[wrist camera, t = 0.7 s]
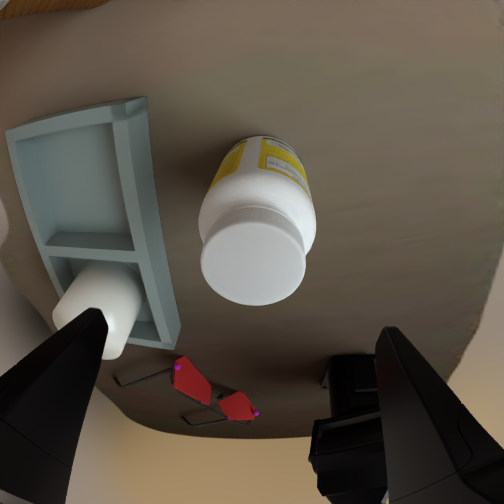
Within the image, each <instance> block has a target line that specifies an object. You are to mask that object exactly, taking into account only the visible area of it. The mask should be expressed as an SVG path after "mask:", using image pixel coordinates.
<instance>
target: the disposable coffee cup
mask: <svg viewBox="0 0 504 504" xmlns="http://www.w3.org/2000/svg"><path fill="white" fill-rule="evenodd" d="M108 1H110V0H0V20H3V19H9V18H11V17H13V18H14V17H18V16H24V15H27V14H29V15H30V14H34V13H35V14H36V13H41V12H48V11H50V12H51V11H55V10H56V11H59V10H67V9H68V10H70V9H88V8H94V7H97V6H100V5H102V4H104V3H106V2H108Z"/></svg>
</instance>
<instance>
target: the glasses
mask: <svg viewBox="0 0 504 504" xmlns="http://www.w3.org/2000/svg"><path fill="white" fill-rule="evenodd" d="M173 370H174V381H173ZM170 371H171V382H172V385H173V387H174V388H175V389H176V390H177V391H178V392H179V393H181V394H182V395H183V396H185V397H187V398H188V399H190V400H192V401H194V402H195V403H197V404H199V405H201V406H203V407H205V408H207V409H208V410H210V411H212V412H214V413H216V414H218V415H220V416H222V417H224V418H226V419H222V420H217V421H212V422H207V423H202V424H197V425H192V424H190V423H189V422H188V421H187V420H186V419H185V418H181V419H182V420H183V421H184V422H185V423H187V424H188V425H189V426H191V427H199V426H205V425H210V424H215V423H220V422H225V421H232V422H234V423H237V424H239V425H244V426H245V425H248V424H249V423H250V422H251V419H254V415H258V414H259V412H258V411H257V410H255V411H254V407H253V405H252V404H251V402H250V401H249V400H248V398H247V397H246V395H245V394H243V393H241V392H240V391H238V392H236V393H234V394H233V395H231V396H229V397H227V398H225V399H223V400H221V401H219V402H218V404H219V405H220V407H221V409H222V410H223V412H224V414H225V415H226V416H224V415H222V414H220V413H218V412H216V411H214V410H212V409H210V408H208V407H207V406H205V405H203V403H205V404H207V405H210V396H211V385H210V384H209V383H208V381H207V380H206V379H205V378H204V377H203V376H202V375H201V373H200V372H199V371H198V370H197V369H196V368H195V367H194V365H193V364H192V363H191V362H190V361H189V359H188V358H186V357H185V356H183V357H181V358H180V359H178V360H176V361H175V363H174V366H173V367H170V368H168V369H165V370H163V371H160V372H158V373H155V374H153V375H150V376H148V377H145V378H142V379H140V380H137V381H134V382H132V383H129V384H126V385H123V386H122V385H121V384H120V383H119V381H118V380H117V379H116V378H113V380H114V381H115V382H116V384H117V385H118V386H119V387H120V388H128V387H130V386H133V385H136V384H139V383H141V382H144V381H147V380H150V379H152V378H155V377H157V376H160V375H163V374H165V373H168V372H170ZM182 392H183V393H182ZM184 393H185V394H187V395H189V396H191V397H193V398H195V399H197V400H199V401H201V402H200V403H199V402H197V401H196V400H194V399H192V398H190V397H189V396H187V395H185V394H184ZM222 395H223V393H221V394H220V395H219V396H218V397H217V399H218V398H219V399H222V398H223V396H224V395H227V393H226V394H224V395H223V396H222ZM234 420H249V422H248V423H247V424H241V423H238V422H236V421H234Z"/></svg>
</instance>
